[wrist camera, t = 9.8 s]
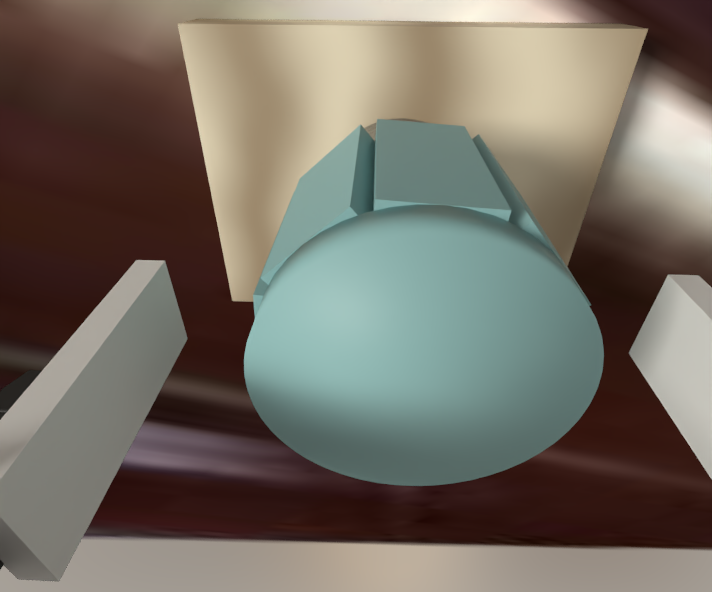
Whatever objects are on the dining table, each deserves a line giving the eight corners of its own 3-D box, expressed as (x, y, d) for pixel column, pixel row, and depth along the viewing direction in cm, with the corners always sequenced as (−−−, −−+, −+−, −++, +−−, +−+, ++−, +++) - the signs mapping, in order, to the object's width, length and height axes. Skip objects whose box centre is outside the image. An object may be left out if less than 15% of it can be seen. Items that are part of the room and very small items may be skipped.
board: (242, 278, 24) (232, 300, 22) (197, 19, 17) (177, 23, 15) (540, 288, 23) (552, 311, 22) (621, 23, 16) (647, 29, 15)
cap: (387, 349, 18) (389, 515, 13) (249, 223, 15) (172, 369, 10) (558, 248, 15) (661, 408, 10) (429, 62, 12) (472, 140, 6)
